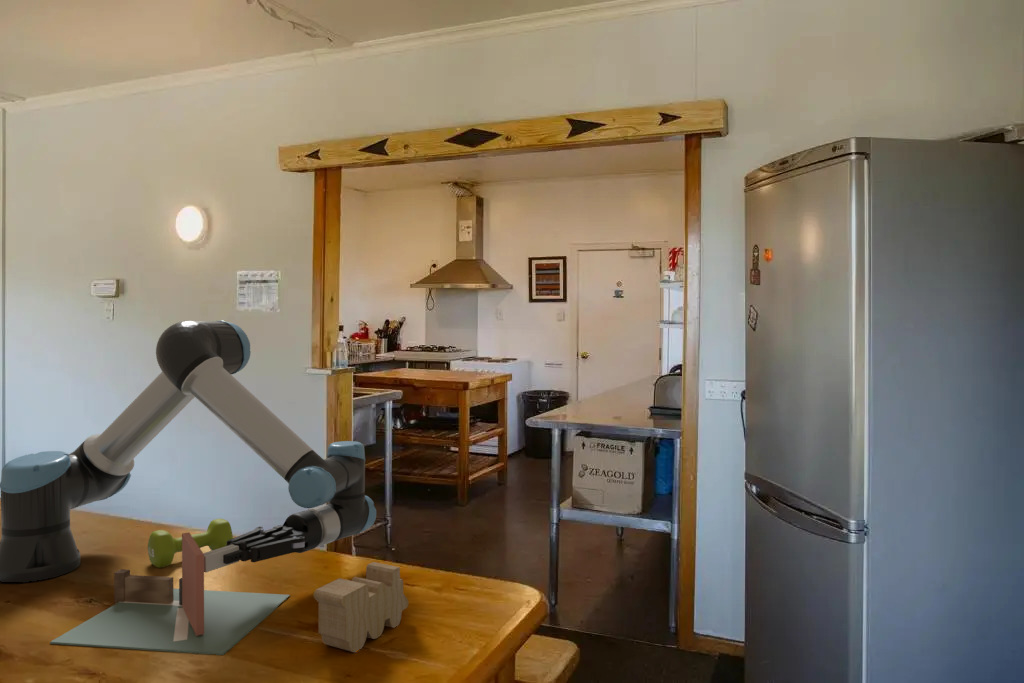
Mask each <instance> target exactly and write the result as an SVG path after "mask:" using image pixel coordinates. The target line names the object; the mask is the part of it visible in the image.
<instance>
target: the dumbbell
mask: <svg viewBox="0 0 1024 683" xmlns="http://www.w3.org/2000/svg"><path fill="white" fill-rule="evenodd" d="M191 536H192V537H193V539H194V540H195V542H196V543H197V545H198V546H199V548H200V549H201V548H204V547H208V548H209V549H210V551H212V550H216V549H219V548H222V547H225V546H227V541H228V540H230V539H233V538H234V535H233V530H232V526H231V523H230V522H229V521H228V520H226V519H224V518H216V519H213V520H211V521H210V522H209V525H208V527H207V530H206V531H205V532H202V533H194V534H191ZM147 552H148V557H149V562H150V563H151V565H152V566H154V567H156V568H159V569H162V568H165V567H168V566H170V565H171V564H172V562H173V560H174V556H175V554H177V553H182V536H180V537H173V536H172V534H171V533H170V532H168V530H163V529H158V530H154V531H152V532H151V533H150V534H149V538H148V543H147ZM161 567H162V568H161Z"/></svg>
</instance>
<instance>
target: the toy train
mask: <svg viewBox="0 0 1024 683" xmlns="http://www.w3.org/2000/svg"><path fill="white" fill-rule="evenodd" d="M365 570H366V571H365V572H366V573H365V578H363V577H357V576H354V577H352V578H351V580H349V579H346V578H345V579H344V578H339V577H338V578H337V579H335V580H332V581H331V582H329V583H326V584H324V585H321V586H320V587H319V588H316V589H315V590H314V591H313V592H314V593H313V598H314V599H315V601H316V602H318V634H319V635H320V636H321V639H322V643H323V644H324V645H327V646H329V647H332V648H337V649H341V650H344V651H346V652H352V653H357V652H356V651H357V650H359V649H361V650H362V648H363V647H364V646H365V642H366V641H367V638H369V639H373V640H375V639H377V638H379V637H380V636H381V635H382V634H383V631H384V628H385V626H386V627H389V628H395V627H396V626H397V627H398V626H399V625H400V623H401V620H402V614H403V613H402V612H403V611H404V610H406V609H407V608H408V607H409V600H408V598H407V597H406V595H405V594H404V579H402V578H401V573H400V571H401V568H400V566H395V565H391V564H386V563H380V562H377V561H372V562H370V563H368V564H367V565H366V568H365ZM397 627H396V628H397ZM396 628H395V629H396ZM359 651H360V650H359Z"/></svg>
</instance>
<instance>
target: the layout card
mask: <svg viewBox="0 0 1024 683" xmlns="http://www.w3.org/2000/svg"><path fill="white" fill-rule="evenodd" d="M173 596H174V601H173V602H171V603H170V604H157V603H140V602H118V603H114V604H113V605H112V606H109V607H107V609H104V610H103V611H101V612H98V614H96V615H94V616H93V617H91V618H89V619H88V620H85V621H83V622H81V623H80V624H77V626H75V627H73V628H71V629H70V630H69V631H66V632H64V633H63V634H62V635H60V636H58V637H56V638H55V639H52V640H51V641H50V643H49V644H50V645H63V646H78V647H79V646H80V647H92V648H93V647H96V648H111V649H121V650H122V649H123V650H124V649H125V650H127V649H128V650H137V651H138V650H140V651H141V650H142V651H153V652H155V651H157V652H168V653H169V652H170V653H184V654H197V653H198V654H199V655H212V654H216V656H224V655H225V654H227V652H229V651H230V650H231V649H232V648H233V647H234V646H235V645H236V644H238V643H239V642H240V641H241V640H242V639H243V638H244V637H246V636H247V635H248V634H249V633H250V632H251V631H252V630H253V629H255V628H256V627H257V626H258V625H259V624H260V623H262V621H264V620H265V619H266V618H268V617H269V616H270V615H271V614H272V613H273V612H274V611H275V610H276V609H278V608H279V607H280V606H281V605H282V604H283V603H284V602H285V601H287V600H288V599H289V598H290V597H291V595H290V594H281V593H280V594H279V593H277V594H276V593H265V592H264V593H261V592H246V591H244V592H243V591H227V590H207V589H206V590H205V589H204V634H202V635H198V636H196V634H195V632H194V630H193V628H192V626H191V624H190V622H189V620H188V617H187V615H186V613H185V611H184V609H183V607H182V605H179V588H174V587H173ZM289 596H290V597H289ZM288 597H289V598H288ZM287 598H288V599H287ZM284 600H285V601H284ZM283 601H284V602H283ZM282 602H283V603H282ZM281 603H282V604H281ZM280 604H281V605H280ZM279 605H280V606H279ZM278 606H279V607H278ZM198 654H197V655H198Z"/></svg>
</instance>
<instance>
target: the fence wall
mask: <svg viewBox="0 0 1024 683" xmlns="http://www.w3.org/2000/svg"><path fill="white" fill-rule="evenodd" d="M113 576H114V579H113V580H114V583H113V584H114V586H113V587H114V604H117V603H118V602H140V603H157V604H170V603H171V602H173V601H174V596H173V588H174V577H173V576H157V575H156V576H154V575H136V574H135V575H134V574H131V569H119V570H117V571H115V572H114V574H113ZM178 589H179V605H182V577H180V578H179V579H178Z"/></svg>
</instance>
